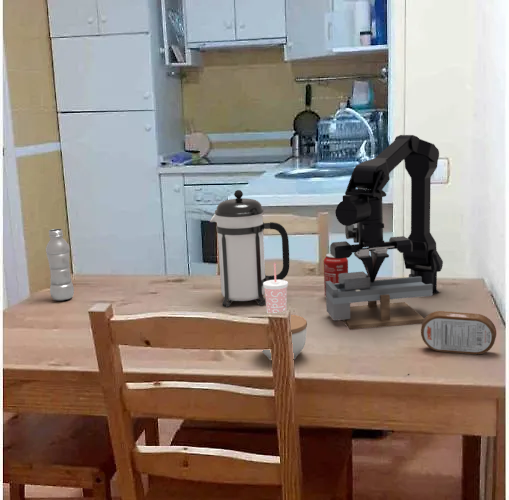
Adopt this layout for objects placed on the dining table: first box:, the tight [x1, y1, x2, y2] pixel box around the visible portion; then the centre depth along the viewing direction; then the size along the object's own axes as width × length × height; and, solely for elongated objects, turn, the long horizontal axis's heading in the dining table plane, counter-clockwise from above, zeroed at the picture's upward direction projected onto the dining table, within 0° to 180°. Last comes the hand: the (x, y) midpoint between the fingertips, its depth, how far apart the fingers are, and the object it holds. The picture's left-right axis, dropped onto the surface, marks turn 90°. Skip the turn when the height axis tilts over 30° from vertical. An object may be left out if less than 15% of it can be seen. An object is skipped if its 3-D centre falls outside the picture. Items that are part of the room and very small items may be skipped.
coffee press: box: [209, 189, 290, 308], centre depth 187 cm, size 17×16×30 cm
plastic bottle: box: [45, 228, 75, 301], centre depth 197 cm, size 6×7×20 cm
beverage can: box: [323, 252, 349, 297], centre depth 187 cm, size 6×6×12 cm
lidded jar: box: [261, 314, 308, 361], centre depth 148 cm, size 11×11×9 cm
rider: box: [339, 271, 370, 292], centre depth 168 cm, size 6×6×4 cm
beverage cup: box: [263, 262, 289, 314], centre depth 173 cm, size 6×6×14 cm
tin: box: [420, 310, 497, 355], centre depth 146 cm, size 15×3×8 cm, turn 70°
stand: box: [342, 294, 425, 330], centre depth 170 cm, size 18×14×7 cm
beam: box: [325, 276, 433, 321], centre depth 170 cm, size 24×9×8 cm, turn 97°
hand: (371, 282), depth 169 cm, fingers closed
